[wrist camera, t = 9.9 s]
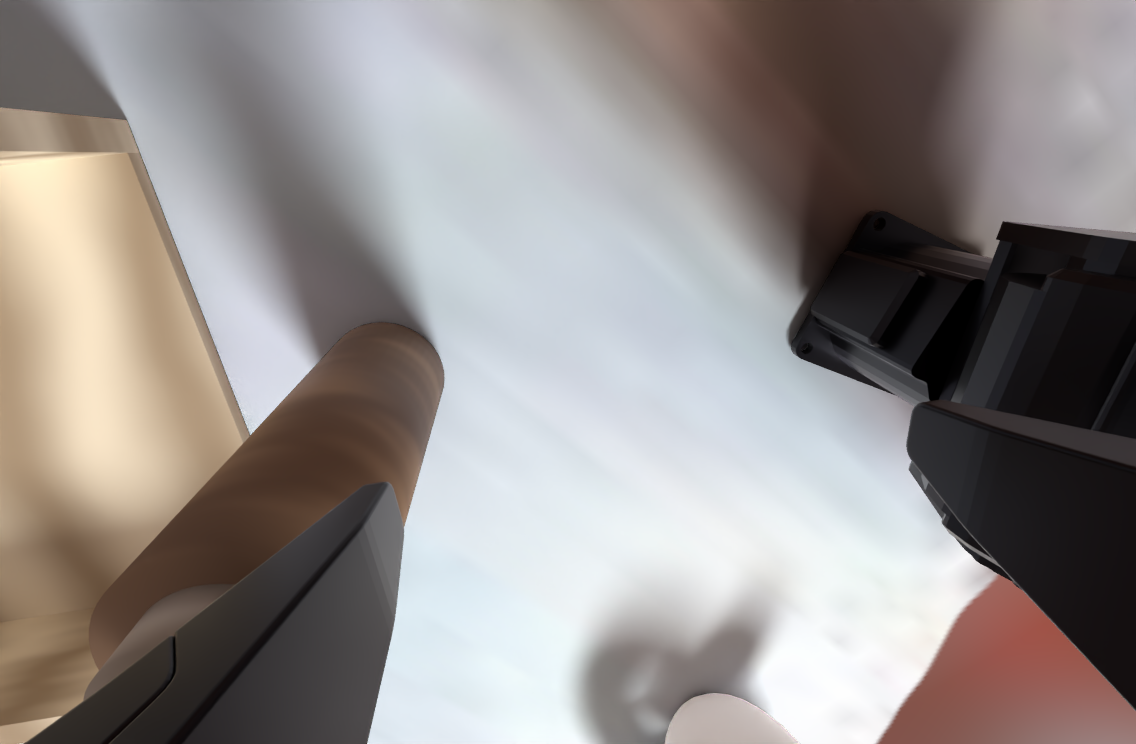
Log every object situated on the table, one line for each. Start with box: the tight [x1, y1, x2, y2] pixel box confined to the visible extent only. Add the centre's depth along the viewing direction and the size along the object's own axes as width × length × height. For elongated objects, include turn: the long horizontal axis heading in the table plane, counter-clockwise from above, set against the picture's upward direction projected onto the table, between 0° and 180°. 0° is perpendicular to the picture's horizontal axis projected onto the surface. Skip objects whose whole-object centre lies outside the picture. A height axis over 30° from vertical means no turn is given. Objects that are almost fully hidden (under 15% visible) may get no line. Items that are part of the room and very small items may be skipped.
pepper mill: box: [83, 322, 444, 701], centre depth 14 cm, size 5×5×17 cm
